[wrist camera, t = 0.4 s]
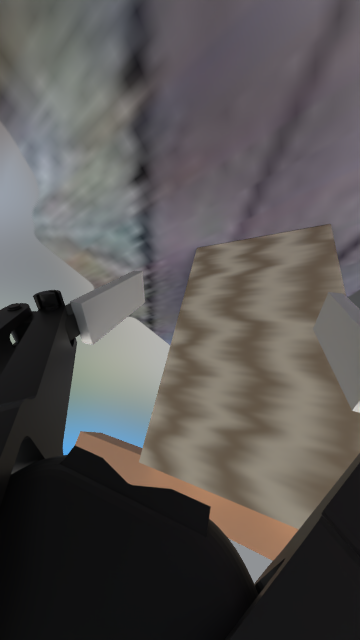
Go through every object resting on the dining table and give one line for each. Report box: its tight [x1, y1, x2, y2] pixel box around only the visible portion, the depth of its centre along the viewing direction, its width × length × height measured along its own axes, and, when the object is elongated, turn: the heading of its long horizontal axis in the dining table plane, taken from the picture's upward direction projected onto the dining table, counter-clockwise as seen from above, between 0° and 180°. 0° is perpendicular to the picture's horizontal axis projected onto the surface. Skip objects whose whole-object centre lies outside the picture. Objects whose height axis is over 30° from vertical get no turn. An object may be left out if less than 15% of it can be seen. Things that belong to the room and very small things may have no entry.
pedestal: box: [139, 224, 360, 529], centre depth 25 cm, size 18×10×30 cm, turn 113°
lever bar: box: [75, 431, 299, 560], centre depth 20 cm, size 30×4×3 cm, turn 113°
